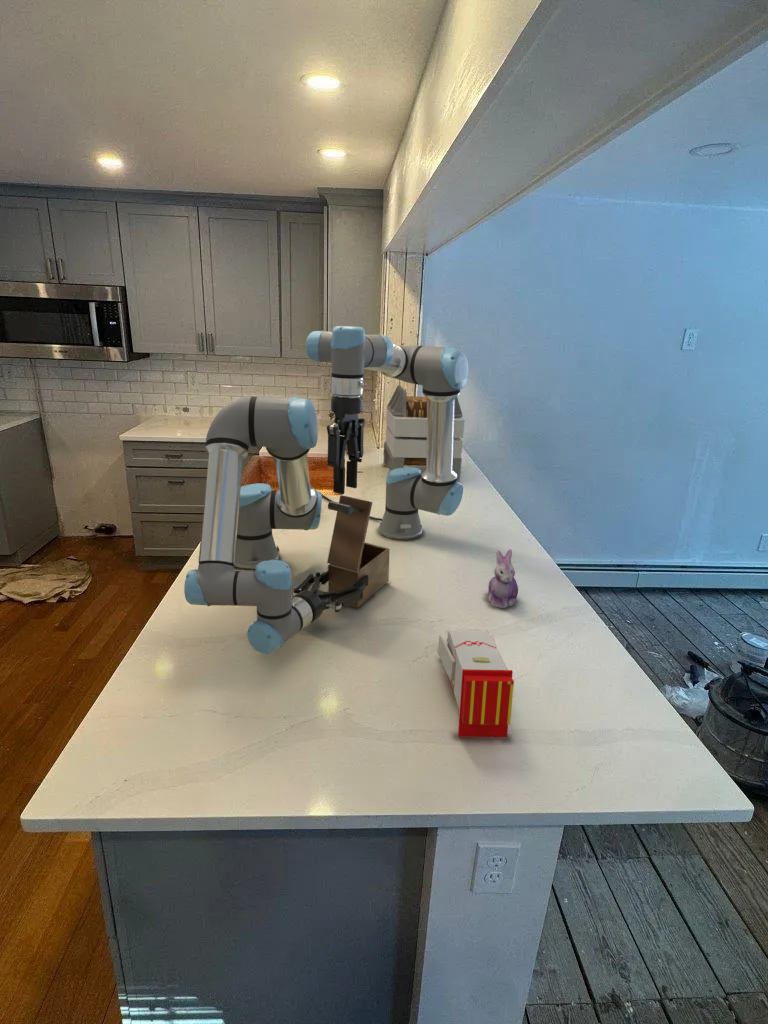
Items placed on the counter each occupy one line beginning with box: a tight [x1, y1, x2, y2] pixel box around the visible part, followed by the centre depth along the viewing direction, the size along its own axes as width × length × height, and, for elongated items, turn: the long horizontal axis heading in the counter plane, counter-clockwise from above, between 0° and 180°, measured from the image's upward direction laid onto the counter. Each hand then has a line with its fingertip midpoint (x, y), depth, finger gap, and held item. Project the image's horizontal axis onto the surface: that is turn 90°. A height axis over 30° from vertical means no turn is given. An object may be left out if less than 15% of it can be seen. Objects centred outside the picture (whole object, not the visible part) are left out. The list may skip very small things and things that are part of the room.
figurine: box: [487, 548, 519, 609], centre depth 154 cm, size 9×10×15 cm
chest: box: [327, 542, 391, 609], centre depth 157 cm, size 17×9×10 cm, turn 151°
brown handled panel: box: [326, 494, 373, 571], centre depth 144 cm, size 18×9×9 cm
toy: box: [437, 628, 515, 738], centre depth 117 cm, size 12×13×30 cm
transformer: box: [383, 384, 465, 483], centre depth 268 cm, size 34×33×41 cm
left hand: (351, 575), depth 153 cm, fingers closed on chest, 9 cm apart
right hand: (345, 489), depth 141 cm, fingers open, 5 cm apart
